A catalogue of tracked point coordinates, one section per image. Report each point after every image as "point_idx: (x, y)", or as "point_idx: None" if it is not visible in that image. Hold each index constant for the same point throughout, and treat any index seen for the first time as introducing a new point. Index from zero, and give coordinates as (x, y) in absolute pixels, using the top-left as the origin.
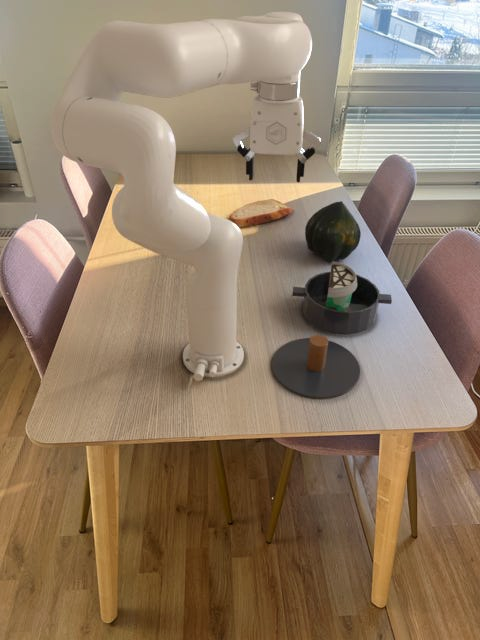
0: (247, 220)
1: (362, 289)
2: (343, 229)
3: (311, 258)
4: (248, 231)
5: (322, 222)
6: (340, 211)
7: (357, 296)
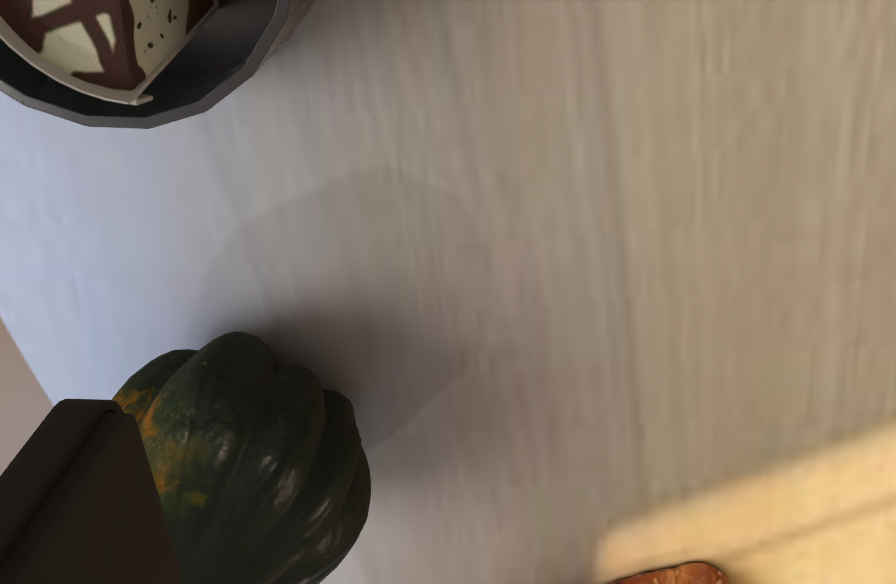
0: None
1: None
2: None
3: (340, 363)
4: (641, 541)
5: (255, 500)
6: None
7: None
